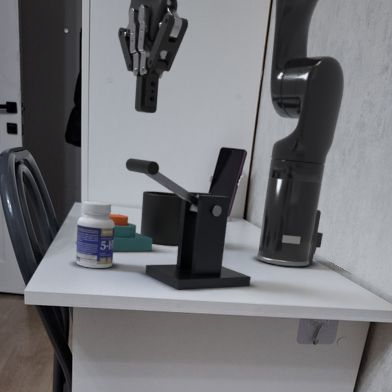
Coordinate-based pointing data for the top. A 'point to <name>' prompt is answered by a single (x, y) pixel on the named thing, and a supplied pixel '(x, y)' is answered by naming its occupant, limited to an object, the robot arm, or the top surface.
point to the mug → (161, 217)
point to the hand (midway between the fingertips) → (145, 112)
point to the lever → (162, 180)
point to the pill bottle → (95, 236)
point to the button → (119, 219)
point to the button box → (130, 239)
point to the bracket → (200, 248)
